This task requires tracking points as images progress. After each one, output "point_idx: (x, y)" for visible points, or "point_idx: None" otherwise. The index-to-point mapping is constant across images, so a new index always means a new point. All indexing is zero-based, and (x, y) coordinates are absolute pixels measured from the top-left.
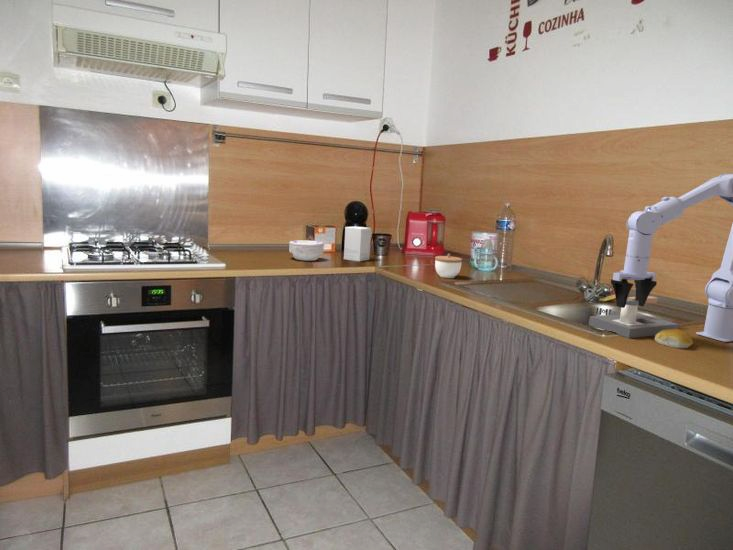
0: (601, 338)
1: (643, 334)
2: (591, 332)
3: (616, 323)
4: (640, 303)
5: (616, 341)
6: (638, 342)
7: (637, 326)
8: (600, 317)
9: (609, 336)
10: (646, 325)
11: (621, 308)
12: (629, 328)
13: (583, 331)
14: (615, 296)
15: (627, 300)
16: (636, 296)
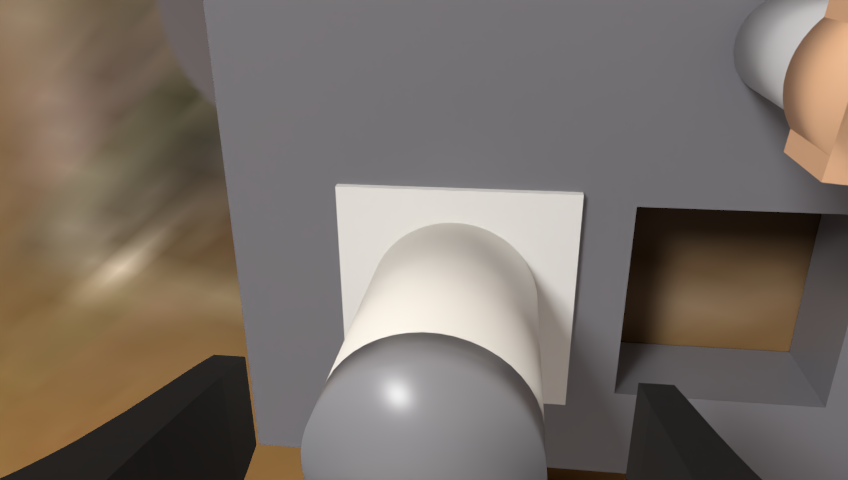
0: (40, 323)
1: None
2: (71, 172)
3: (286, 282)
4: (637, 474)
5: (110, 408)
6: (272, 475)
7: None
8: (312, 25)
9: (155, 307)
10: (565, 425)
11: (358, 321)
12: (264, 434)
13: (11, 124)
14: (109, 422)
15: (350, 462)
16: (671, 468)
